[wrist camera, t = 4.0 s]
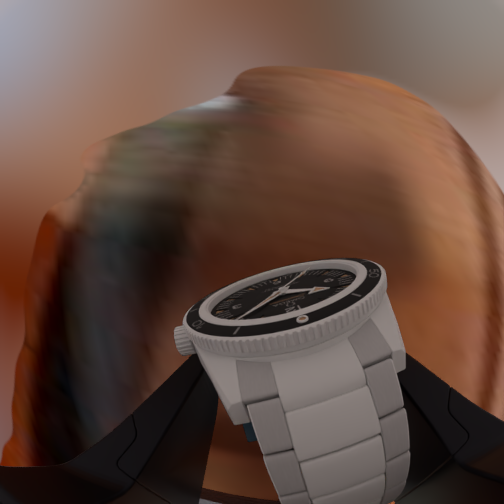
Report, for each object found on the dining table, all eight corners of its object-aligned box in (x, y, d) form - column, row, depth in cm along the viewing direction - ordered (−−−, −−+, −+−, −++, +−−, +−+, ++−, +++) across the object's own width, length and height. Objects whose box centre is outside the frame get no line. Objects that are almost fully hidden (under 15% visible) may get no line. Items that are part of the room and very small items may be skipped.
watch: (320, 293, 15) (392, 164, 5) (358, 423, 12) (480, 503, 2) (224, 320, 15) (118, 236, 5) (260, 452, 12) (225, 590, 2)
